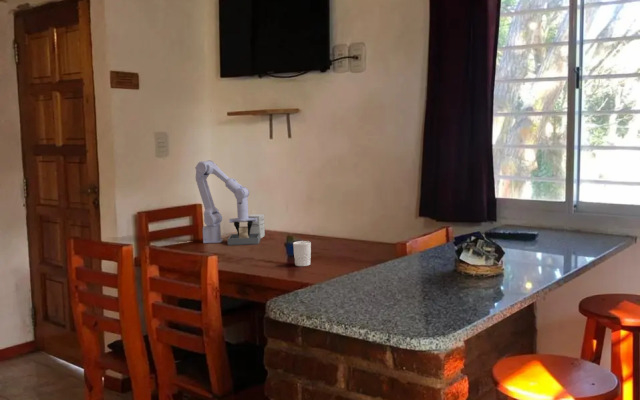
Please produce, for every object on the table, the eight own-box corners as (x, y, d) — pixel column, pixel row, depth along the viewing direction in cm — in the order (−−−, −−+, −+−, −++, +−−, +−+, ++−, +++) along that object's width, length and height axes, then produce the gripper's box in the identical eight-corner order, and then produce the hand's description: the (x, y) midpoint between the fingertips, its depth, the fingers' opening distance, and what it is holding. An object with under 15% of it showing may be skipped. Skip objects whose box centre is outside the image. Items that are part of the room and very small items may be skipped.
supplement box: (247, 238, 362) (246, 215, 361) (253, 235, 369) (252, 213, 368) (260, 238, 360) (259, 215, 359) (265, 236, 367) (264, 213, 366)
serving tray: (227, 245, 343) (227, 238, 343) (231, 240, 357) (231, 234, 356) (258, 244, 343) (257, 237, 342) (260, 239, 357) (260, 233, 356)
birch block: (239, 239, 346) (238, 228, 346) (240, 237, 351) (239, 226, 350) (247, 239, 346) (247, 227, 346) (248, 237, 351) (248, 226, 350)
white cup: (301, 262, 297) (301, 240, 295) (315, 264, 292) (314, 241, 290) (290, 265, 291) (289, 243, 289) (303, 267, 286) (302, 244, 284)
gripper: (228, 211, 343) (229, 237, 345) (255, 210, 343) (256, 236, 344) (229, 210, 350) (231, 235, 352) (256, 209, 350) (258, 234, 351)
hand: (244, 235), depth 348 cm, fingers closed on birch block, 4 cm apart
